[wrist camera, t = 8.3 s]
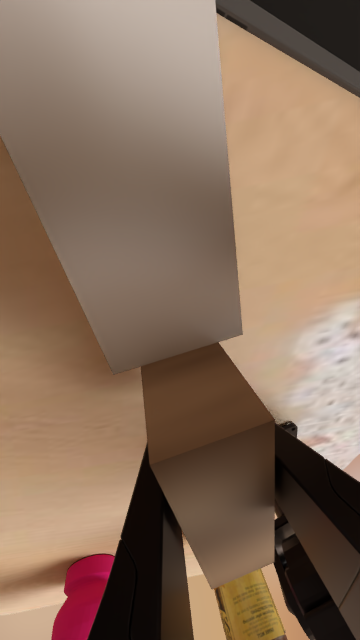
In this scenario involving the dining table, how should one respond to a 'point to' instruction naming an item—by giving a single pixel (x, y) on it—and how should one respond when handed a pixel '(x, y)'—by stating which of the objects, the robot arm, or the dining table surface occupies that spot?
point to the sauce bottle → (249, 609)
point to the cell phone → (306, 33)
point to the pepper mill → (82, 597)
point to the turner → (149, 239)
